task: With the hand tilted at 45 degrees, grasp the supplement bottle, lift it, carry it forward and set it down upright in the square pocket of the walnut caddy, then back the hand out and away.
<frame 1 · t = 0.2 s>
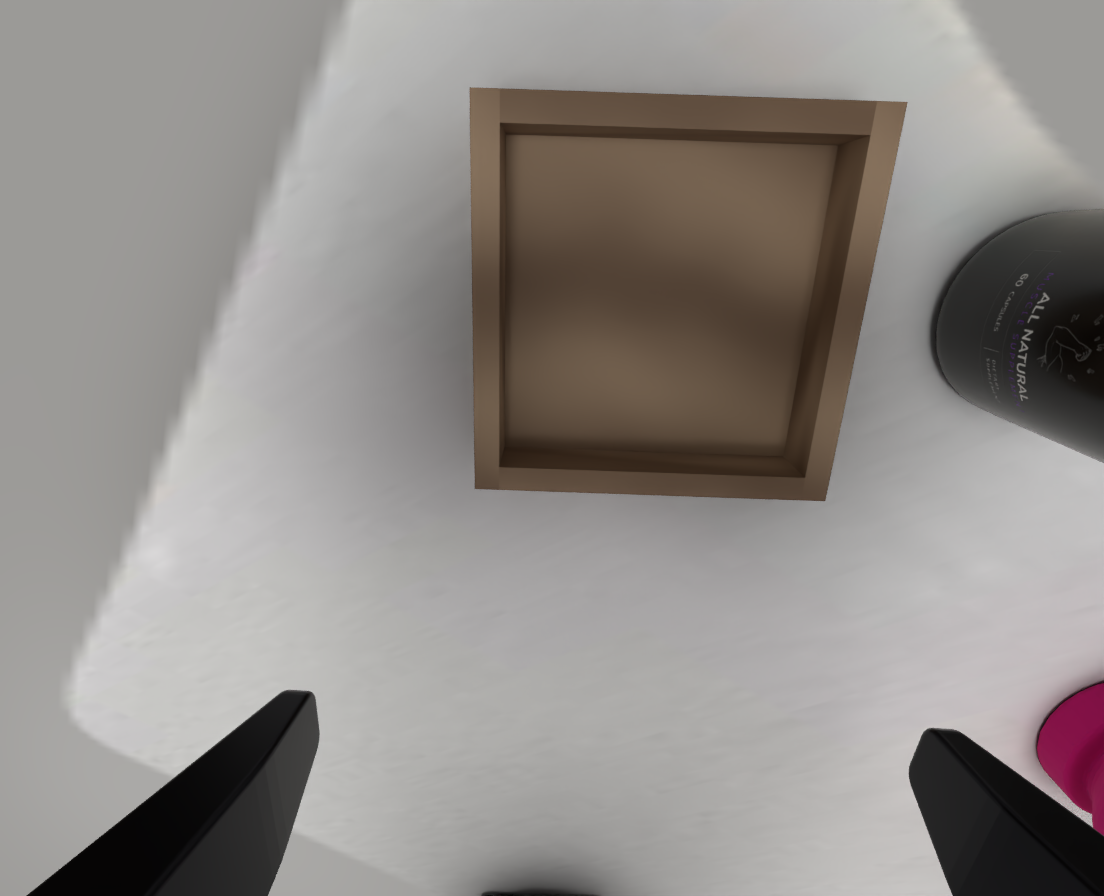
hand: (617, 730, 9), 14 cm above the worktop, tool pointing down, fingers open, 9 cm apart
pepper mill: (1103, 729, 27), on the worktop
walnut caddy: (652, 305, 20), on the worktop
supplement bottle: (1023, 317, 21), on the worktop
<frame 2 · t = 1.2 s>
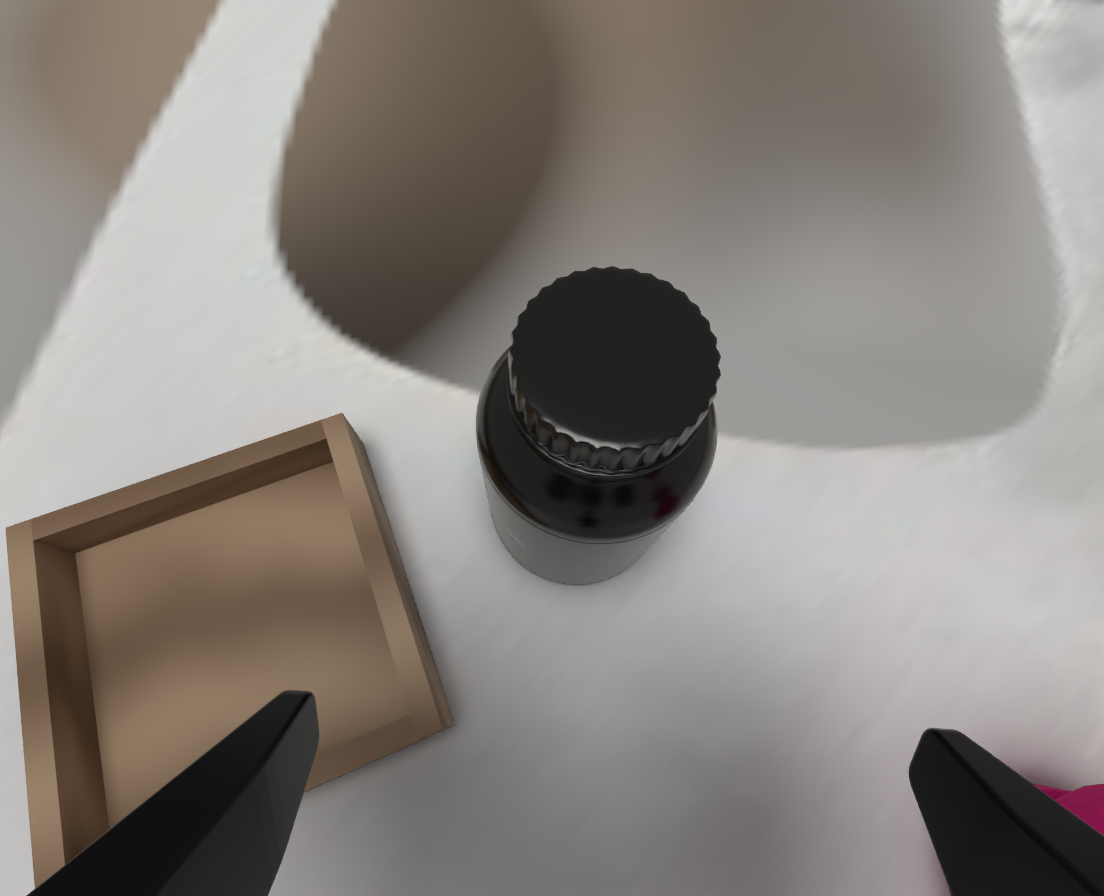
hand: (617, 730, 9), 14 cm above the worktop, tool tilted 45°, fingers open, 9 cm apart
pepper mill: (1036, 887, 20), on the worktop
walnut caddy: (253, 632, 22), on the worktop
supplement bottle: (575, 506, 24), on the worktop
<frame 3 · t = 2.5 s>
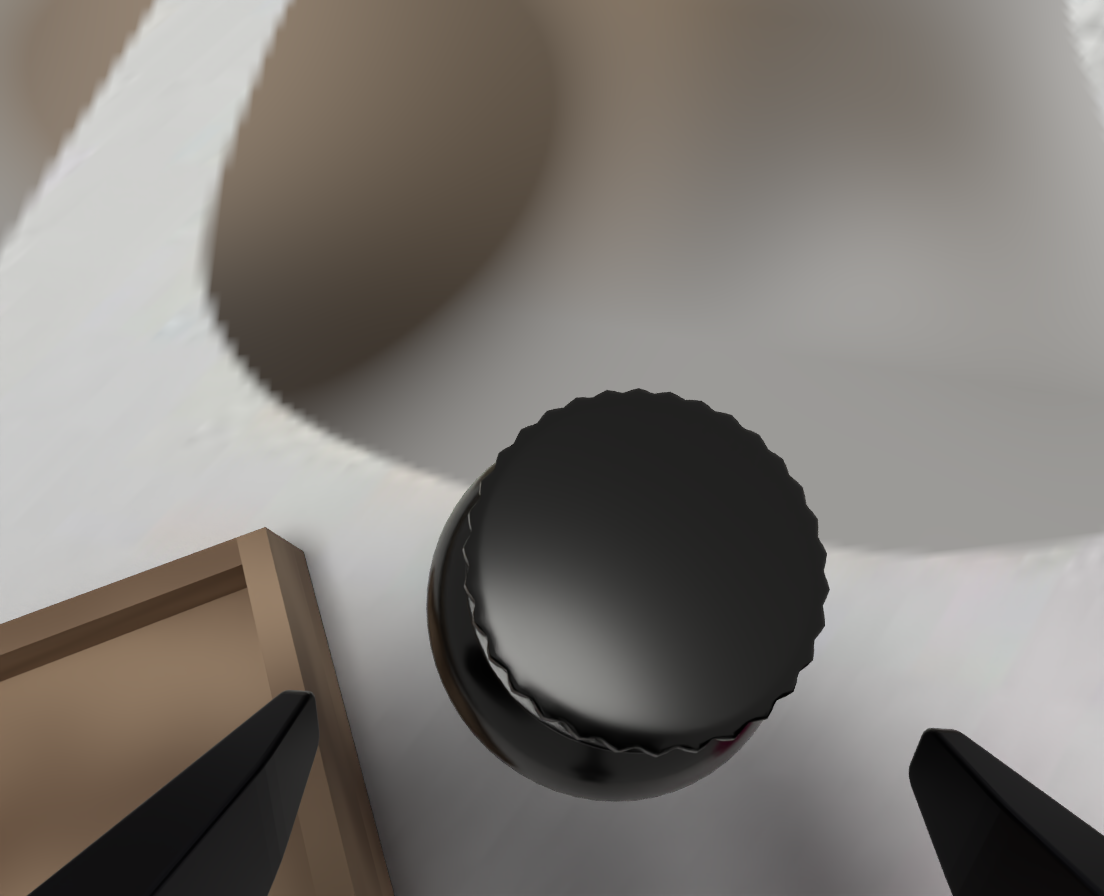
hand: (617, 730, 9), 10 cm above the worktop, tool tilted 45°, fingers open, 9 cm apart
walnut caddy: (144, 824, 16), on the worktop
supplement bottle: (575, 634, 19), on the worktop
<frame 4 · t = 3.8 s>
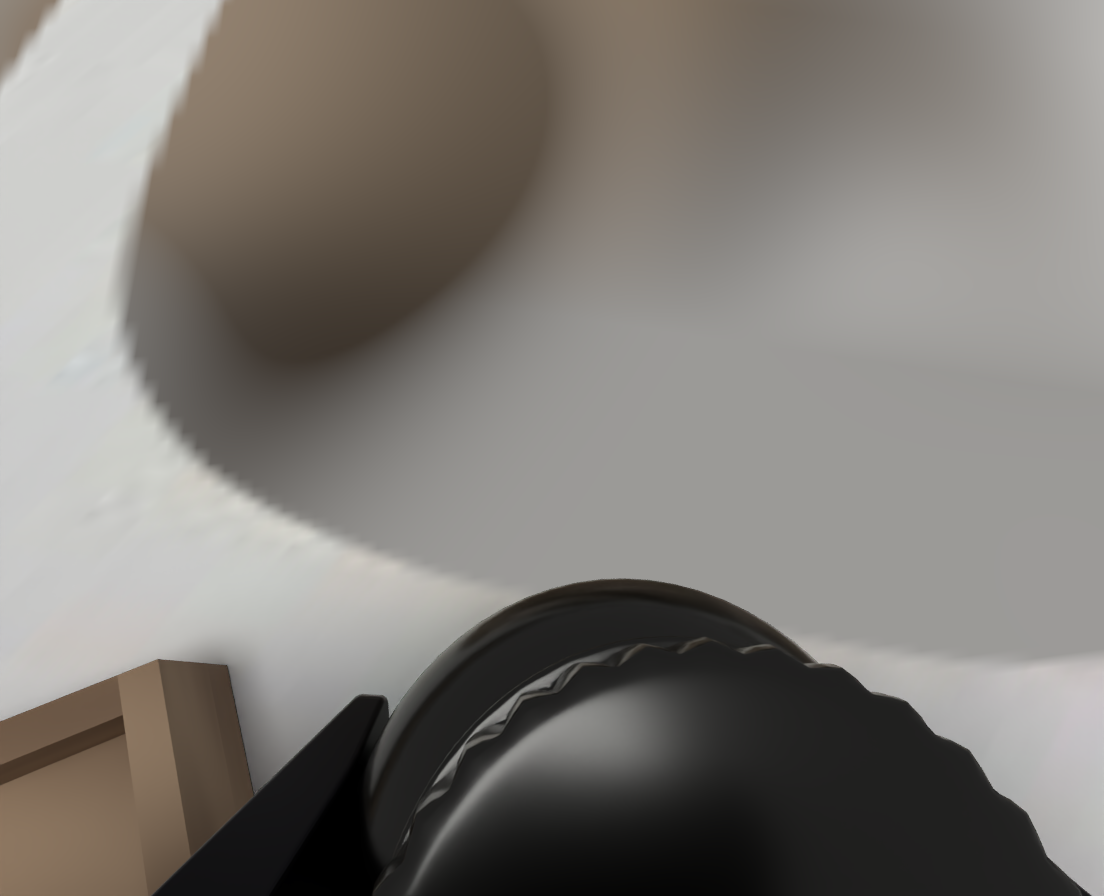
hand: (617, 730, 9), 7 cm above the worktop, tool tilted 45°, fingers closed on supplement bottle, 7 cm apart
supplement bottle: (578, 776, 14), on the worktop, touching gripper
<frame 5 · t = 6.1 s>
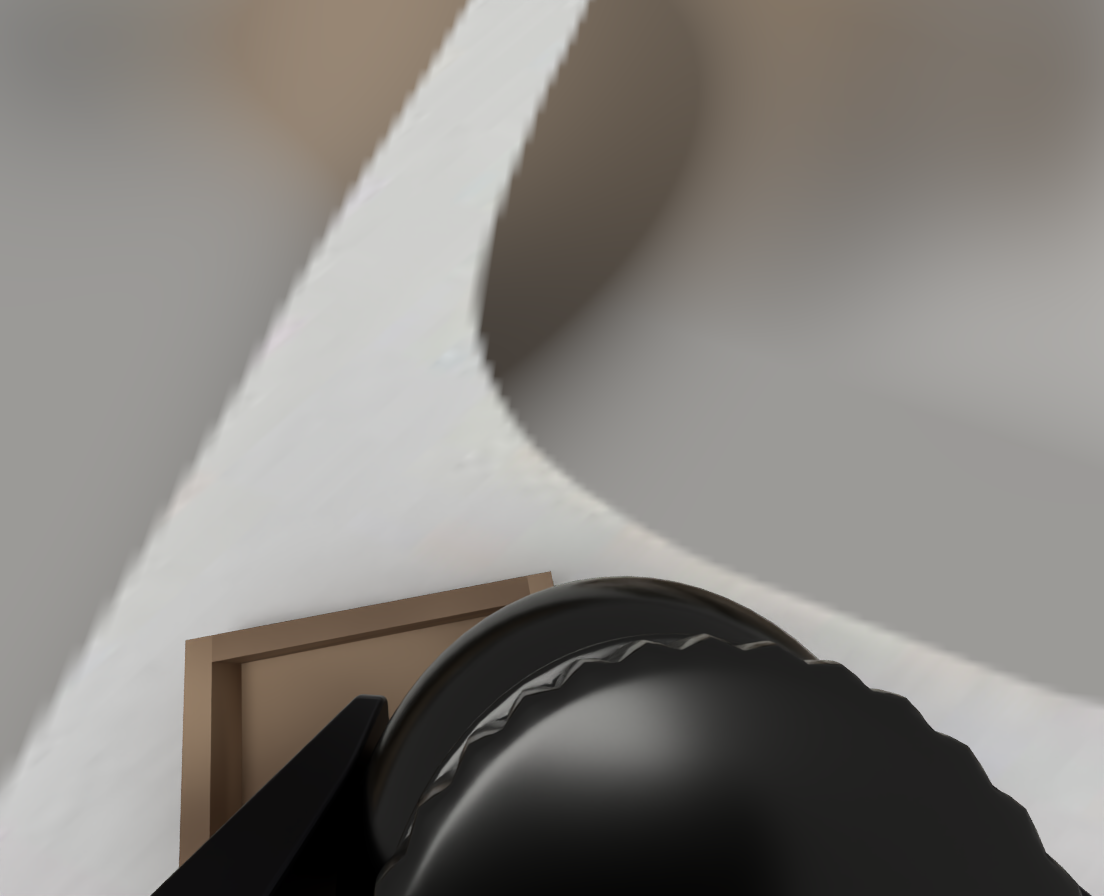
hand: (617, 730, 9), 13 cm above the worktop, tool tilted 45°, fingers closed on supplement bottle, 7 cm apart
walnut caddy: (410, 791, 20), on the worktop
supplement bottle: (581, 774, 15), point 6 cm above the worktop, touching gripper
when the fingers open (9 cm above the worktop, at t = 8.1 s): supplement bottle drops 1 cm, resting on walnut caddy.
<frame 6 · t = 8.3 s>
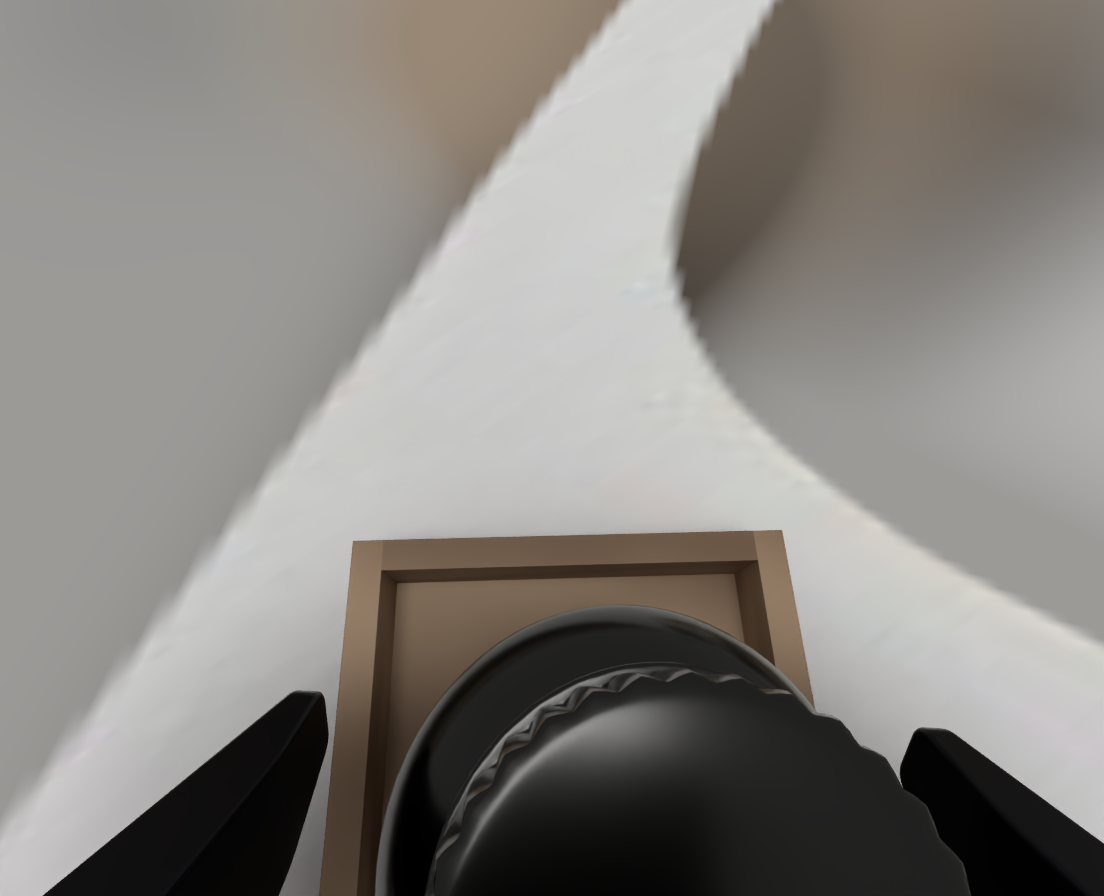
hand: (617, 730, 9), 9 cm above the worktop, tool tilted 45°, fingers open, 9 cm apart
walnut caddy: (573, 764, 17), on the worktop
supplement bottle: (578, 774, 16), point 1 cm above the worktop, touching walnut caddy
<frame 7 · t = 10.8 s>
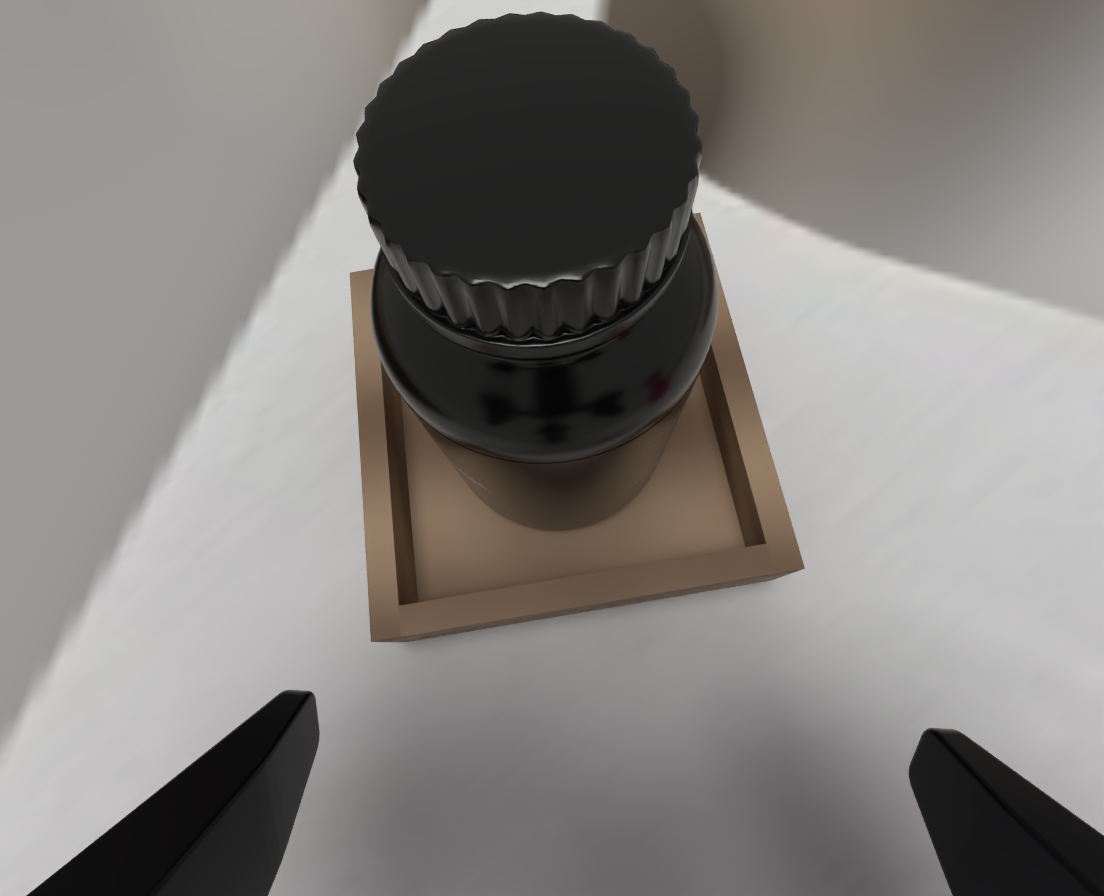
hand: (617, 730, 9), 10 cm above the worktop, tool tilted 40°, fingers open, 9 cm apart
walnut caddy: (557, 438, 20), on the worktop
supplement bottle: (559, 434, 20), point 1 cm above the worktop, touching walnut caddy
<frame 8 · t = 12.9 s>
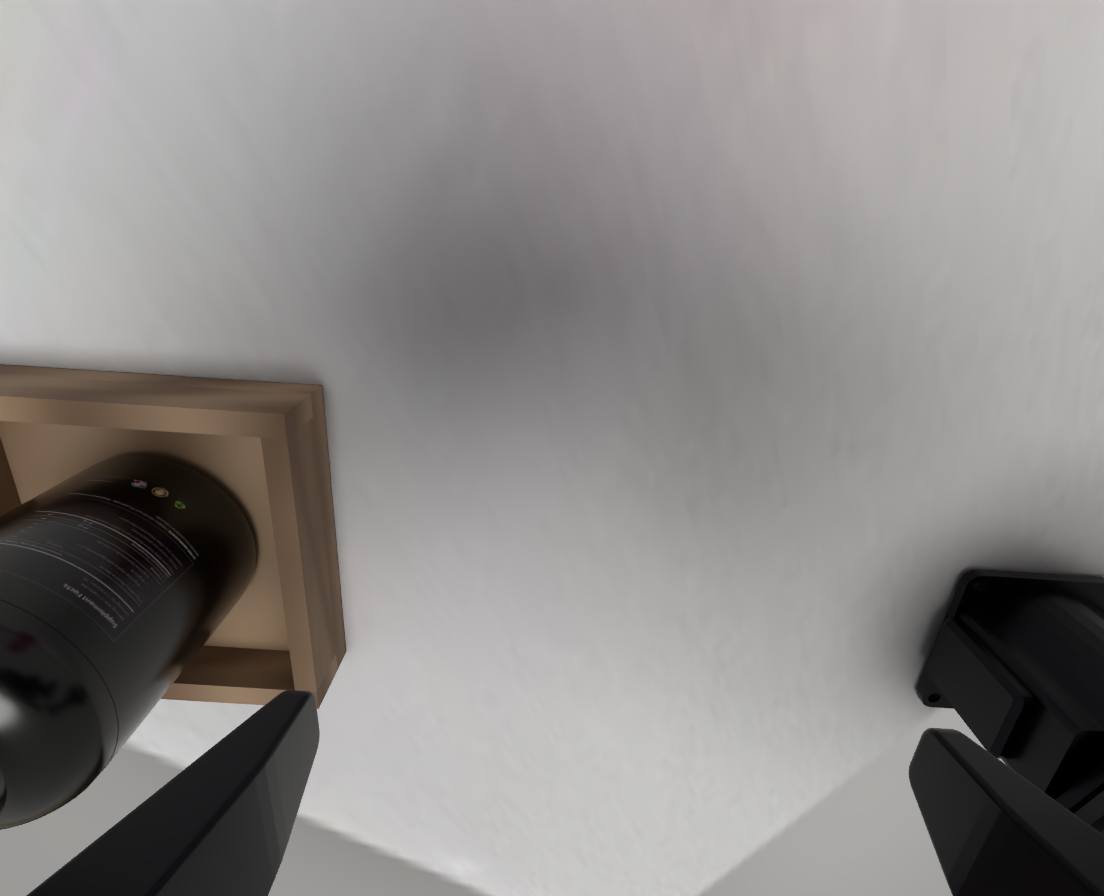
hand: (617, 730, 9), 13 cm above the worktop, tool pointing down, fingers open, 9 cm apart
walnut caddy: (182, 522, 23), on the worktop
supplement bottle: (173, 531, 22), point 1 cm above the worktop, touching walnut caddy
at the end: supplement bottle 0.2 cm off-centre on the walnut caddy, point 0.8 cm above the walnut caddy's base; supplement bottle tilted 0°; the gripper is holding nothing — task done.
